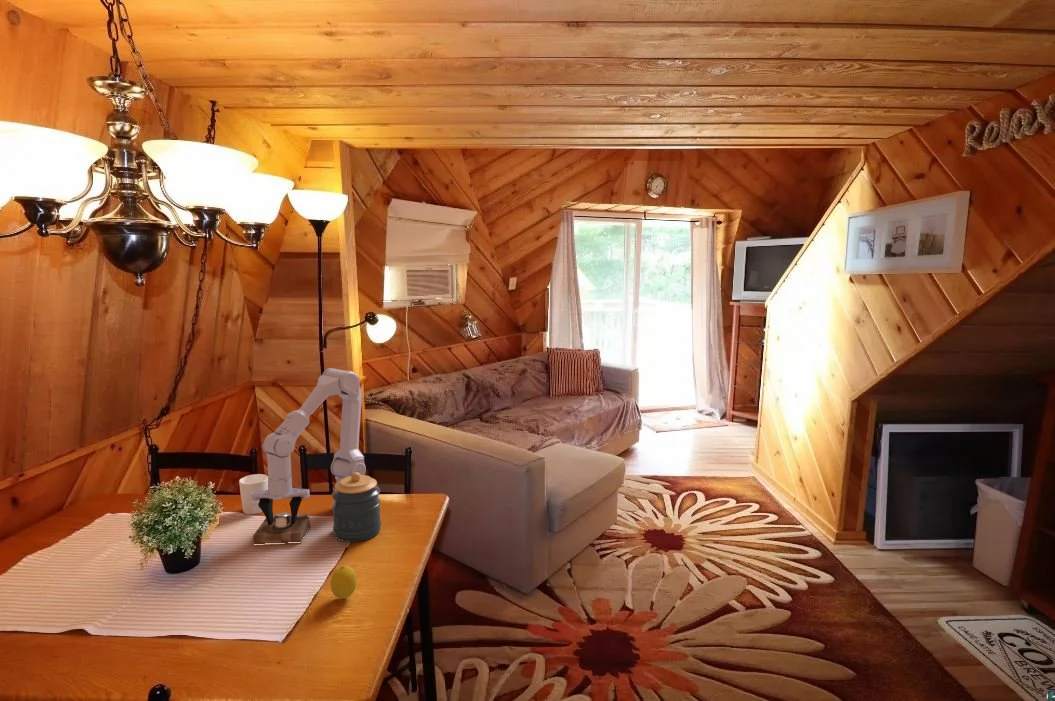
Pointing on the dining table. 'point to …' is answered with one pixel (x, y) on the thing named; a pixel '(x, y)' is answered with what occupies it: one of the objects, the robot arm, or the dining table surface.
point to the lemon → (343, 582)
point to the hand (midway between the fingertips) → (282, 523)
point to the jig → (282, 531)
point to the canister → (356, 508)
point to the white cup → (248, 487)
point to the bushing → (282, 521)
